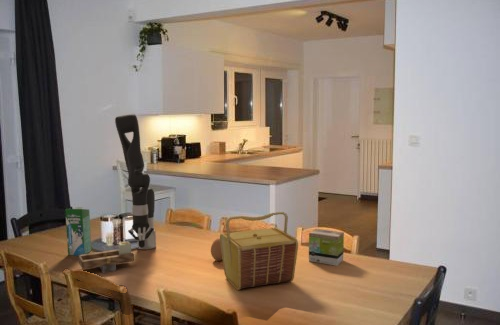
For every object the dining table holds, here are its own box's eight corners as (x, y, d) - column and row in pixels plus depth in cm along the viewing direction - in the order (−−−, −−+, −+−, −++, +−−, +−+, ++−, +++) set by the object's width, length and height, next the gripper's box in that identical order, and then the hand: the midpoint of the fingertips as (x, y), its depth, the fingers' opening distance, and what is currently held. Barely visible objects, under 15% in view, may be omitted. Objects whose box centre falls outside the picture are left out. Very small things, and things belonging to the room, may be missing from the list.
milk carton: (91, 250, 263) (89, 205, 260) (84, 255, 254) (81, 208, 251) (75, 250, 264) (73, 205, 261) (67, 255, 255) (65, 208, 252)
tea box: (308, 262, 239) (308, 232, 237) (315, 256, 247) (315, 228, 246) (337, 266, 232) (338, 236, 230) (343, 260, 240) (344, 231, 239)
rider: (129, 254, 241) (128, 240, 240) (131, 256, 237) (130, 242, 236) (118, 255, 239) (118, 241, 238) (121, 258, 234) (120, 244, 233)
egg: (207, 261, 241) (207, 239, 239) (216, 257, 248) (216, 235, 247) (222, 264, 237) (221, 241, 236) (230, 259, 244) (230, 237, 243)
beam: (128, 259, 246) (127, 247, 245) (135, 267, 233) (134, 254, 232) (78, 267, 235) (78, 254, 234) (83, 276, 222) (82, 262, 222)
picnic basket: (276, 267, 231) (275, 205, 228) (301, 285, 208) (300, 217, 204) (218, 275, 221) (216, 211, 217) (237, 296, 197) (235, 224, 194)
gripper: (151, 210, 245) (152, 243, 247) (125, 213, 239) (126, 247, 241) (155, 213, 239) (156, 247, 241) (128, 216, 233) (130, 251, 235)
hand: (141, 247), depth 241 cm, fingers closed
